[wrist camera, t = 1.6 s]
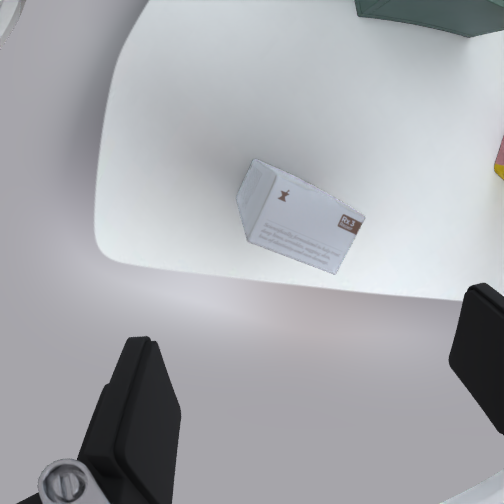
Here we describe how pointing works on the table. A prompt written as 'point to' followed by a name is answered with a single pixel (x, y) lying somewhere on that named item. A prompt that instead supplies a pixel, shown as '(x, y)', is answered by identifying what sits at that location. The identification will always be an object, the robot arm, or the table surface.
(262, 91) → the table surface
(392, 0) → the bin
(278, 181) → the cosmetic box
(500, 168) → the alarm clock
